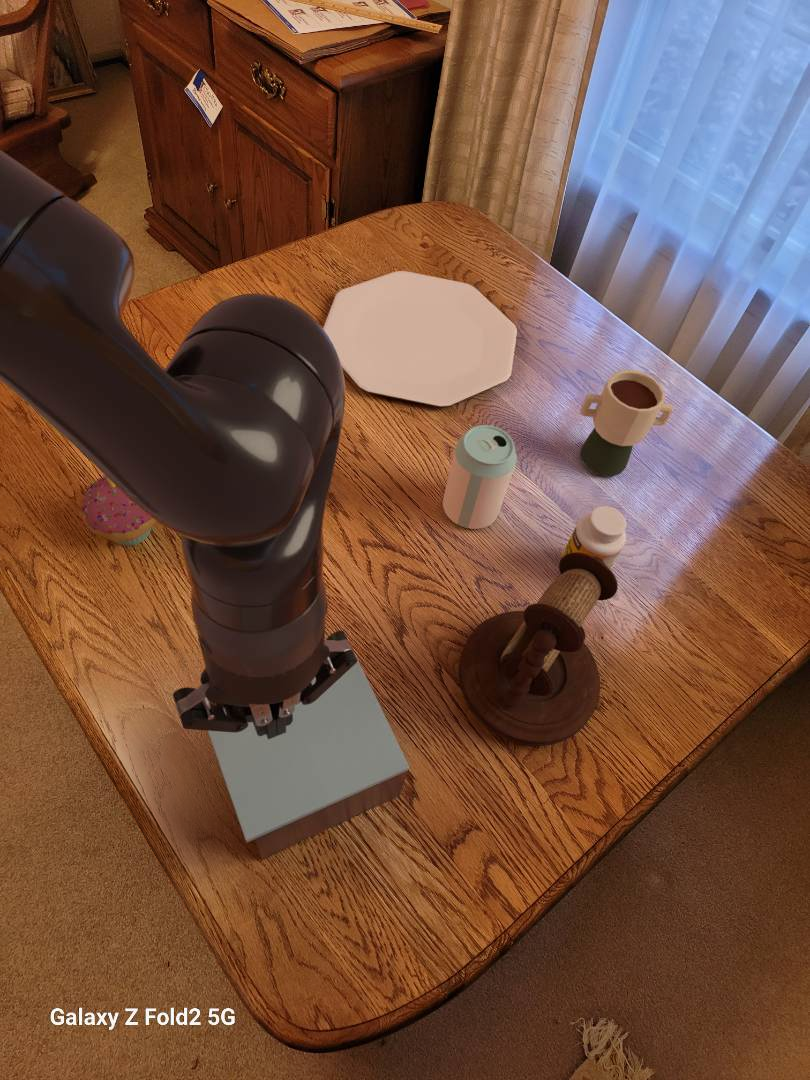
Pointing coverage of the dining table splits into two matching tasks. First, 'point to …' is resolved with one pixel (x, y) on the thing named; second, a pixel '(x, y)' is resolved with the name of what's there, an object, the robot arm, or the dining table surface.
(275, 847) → the open box
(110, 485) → the cupcake
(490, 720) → the wooden spool stand
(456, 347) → the plate
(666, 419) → the trophy cup
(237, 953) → the dining table surface
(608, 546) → the supplement bottle
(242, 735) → the grey-topped wooden block
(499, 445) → the can
